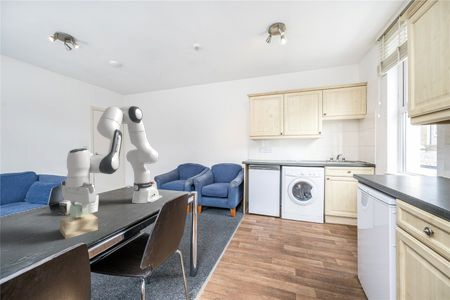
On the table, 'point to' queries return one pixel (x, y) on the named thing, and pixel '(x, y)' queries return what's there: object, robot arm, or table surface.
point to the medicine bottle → (65, 207)
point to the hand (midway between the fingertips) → (79, 210)
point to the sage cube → (77, 210)
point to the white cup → (93, 205)
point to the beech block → (78, 225)
